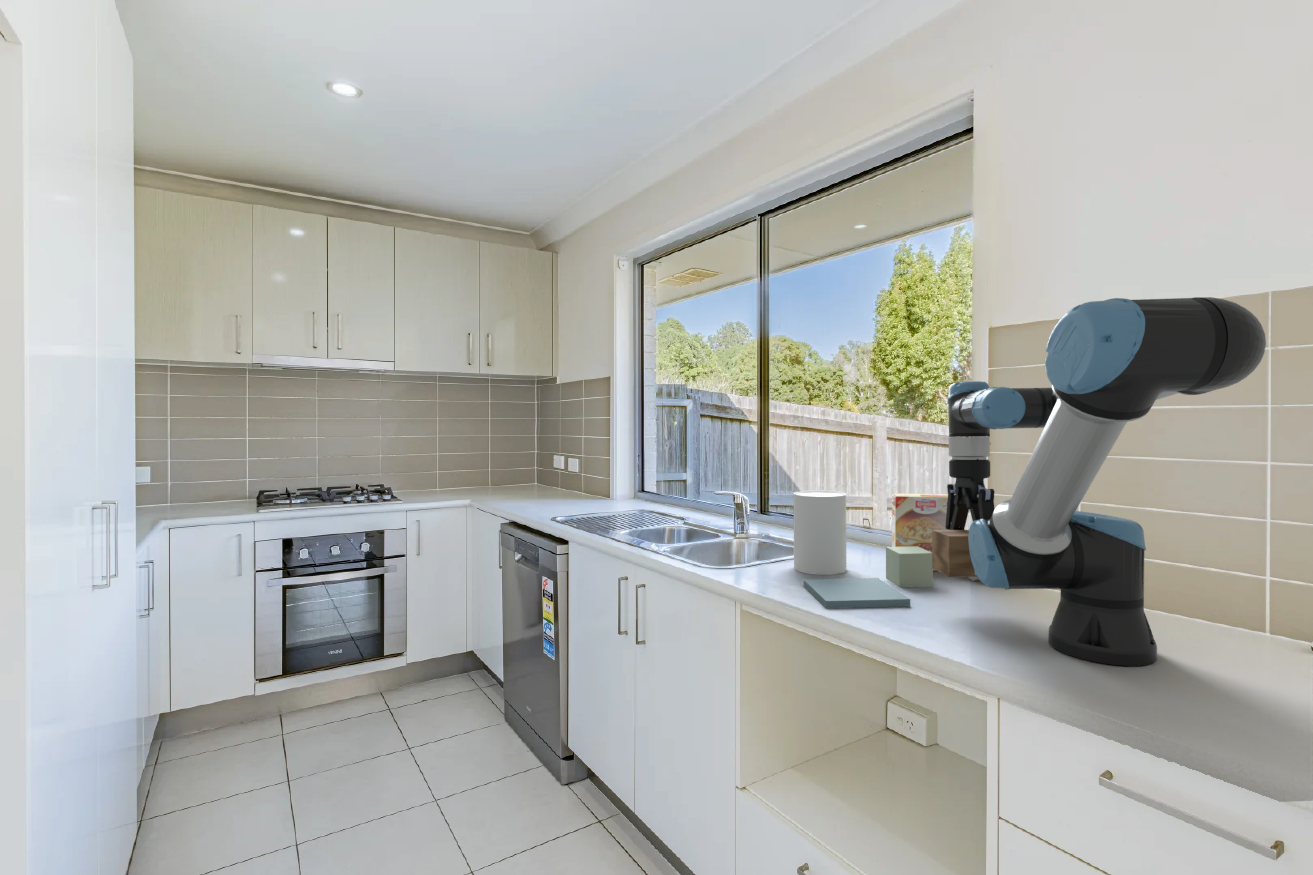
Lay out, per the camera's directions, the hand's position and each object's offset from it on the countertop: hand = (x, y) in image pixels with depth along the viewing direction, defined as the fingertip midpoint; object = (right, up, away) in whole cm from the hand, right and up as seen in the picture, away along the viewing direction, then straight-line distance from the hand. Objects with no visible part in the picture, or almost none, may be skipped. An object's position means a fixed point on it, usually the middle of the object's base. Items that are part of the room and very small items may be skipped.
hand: (970, 569), depth 129 cm
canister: (-20, -8, +40) cm, 46 cm away
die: (+15, -8, +27) cm, 32 cm away
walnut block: (0, 0, 0) cm, 0 cm away
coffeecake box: (+7, -8, +39) cm, 40 cm away
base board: (-19, -9, +14) cm, 25 cm away
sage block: (-3, -8, +25) cm, 26 cm away
